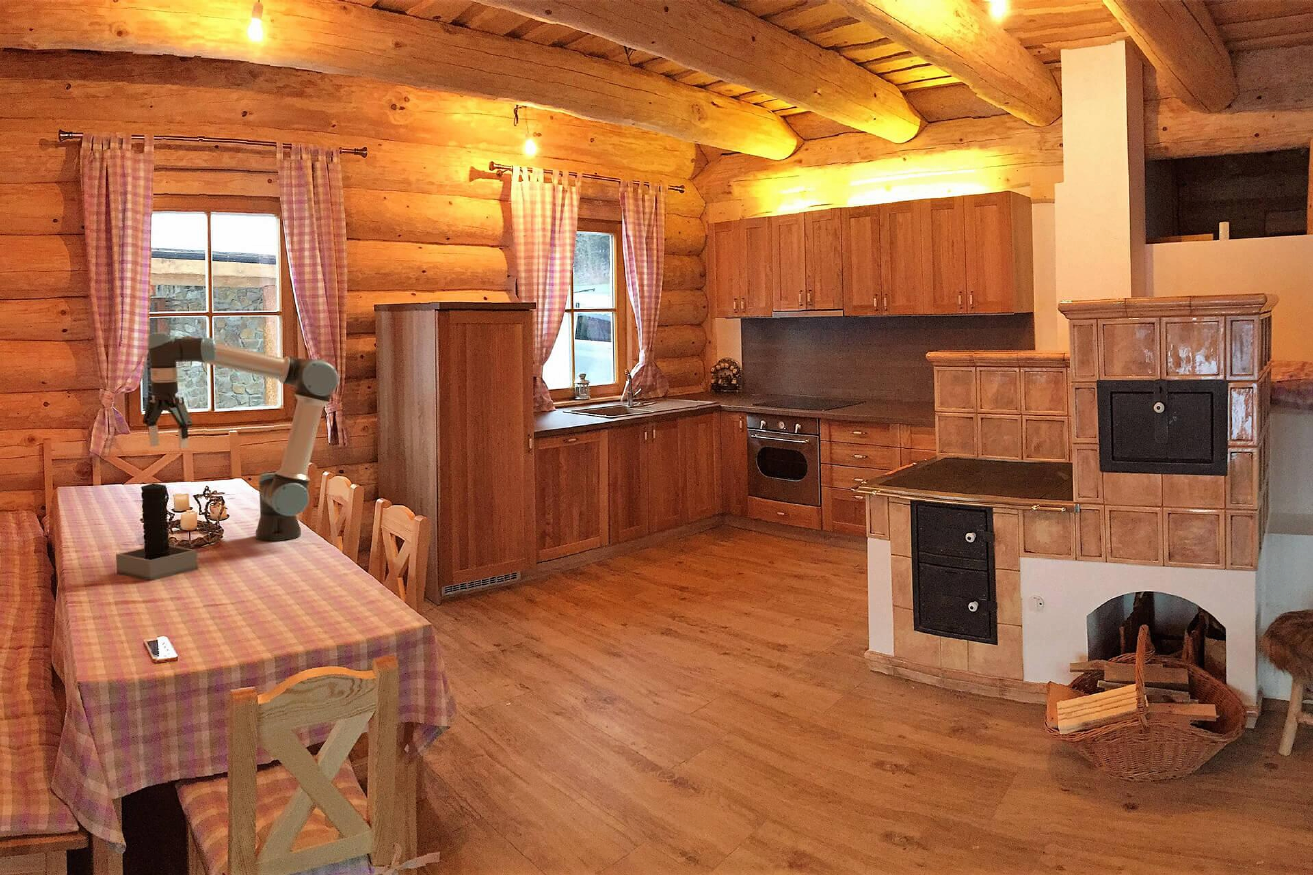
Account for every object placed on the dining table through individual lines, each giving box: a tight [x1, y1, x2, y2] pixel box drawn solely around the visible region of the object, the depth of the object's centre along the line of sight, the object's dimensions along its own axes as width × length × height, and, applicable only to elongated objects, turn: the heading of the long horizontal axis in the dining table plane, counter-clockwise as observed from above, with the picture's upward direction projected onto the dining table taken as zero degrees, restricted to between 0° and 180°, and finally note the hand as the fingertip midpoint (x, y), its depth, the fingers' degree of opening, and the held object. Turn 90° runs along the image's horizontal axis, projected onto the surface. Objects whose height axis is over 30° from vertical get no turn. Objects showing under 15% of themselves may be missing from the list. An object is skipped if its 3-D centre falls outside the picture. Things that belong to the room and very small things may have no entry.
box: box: [115, 544, 199, 582], centre depth 310 cm, size 16×16×6 cm
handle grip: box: [140, 482, 170, 560], centre depth 309 cm, size 10×26×10 cm
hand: (169, 447), depth 323 cm, fingers open, 13 cm apart
